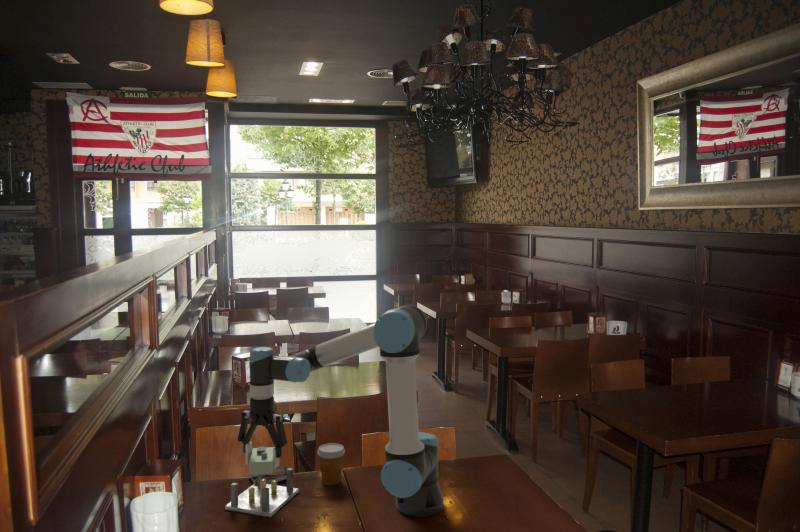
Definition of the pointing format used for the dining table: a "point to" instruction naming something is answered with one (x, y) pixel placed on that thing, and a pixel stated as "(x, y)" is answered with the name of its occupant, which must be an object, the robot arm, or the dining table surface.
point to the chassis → (262, 496)
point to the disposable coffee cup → (331, 462)
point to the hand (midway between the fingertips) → (262, 464)
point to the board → (261, 461)
